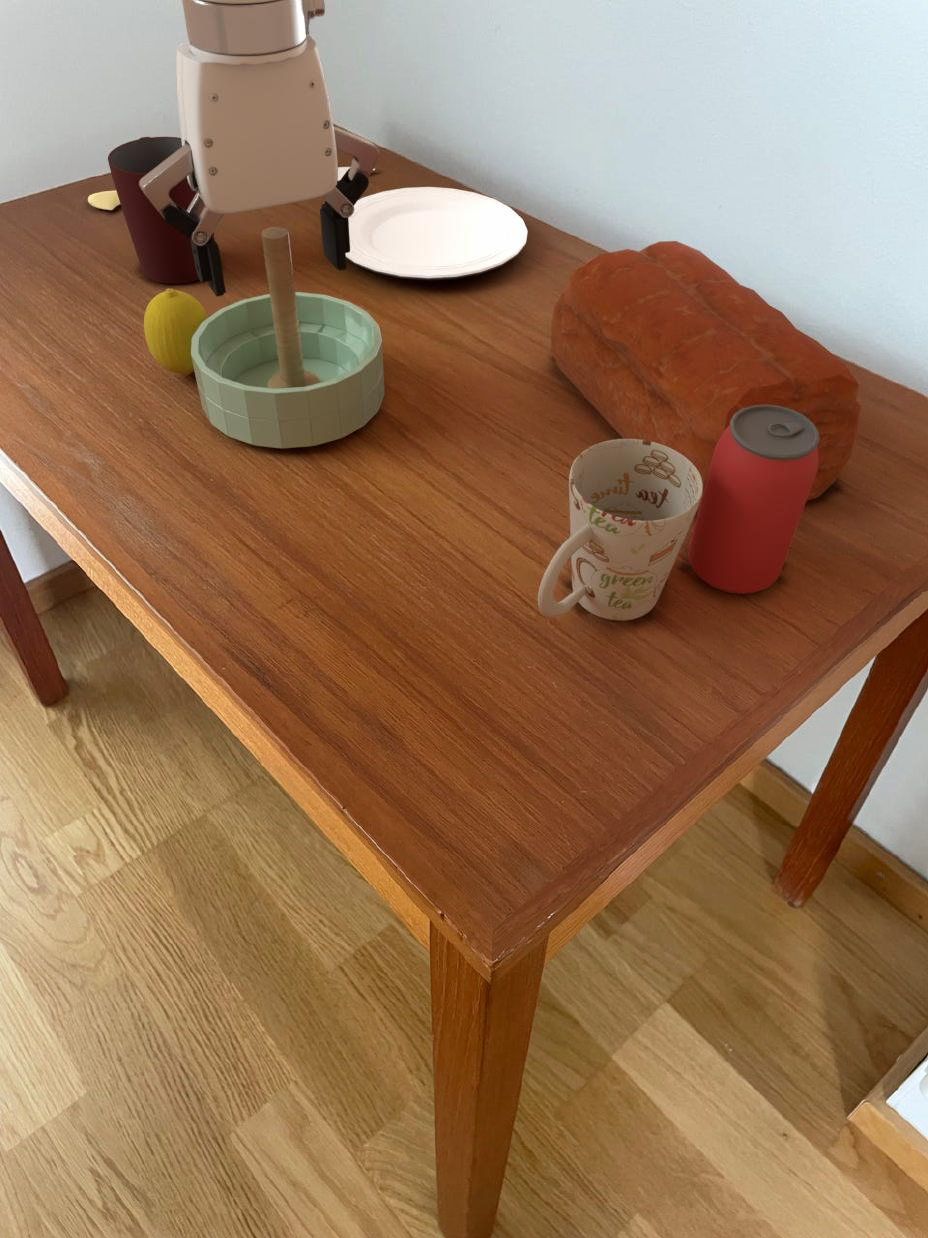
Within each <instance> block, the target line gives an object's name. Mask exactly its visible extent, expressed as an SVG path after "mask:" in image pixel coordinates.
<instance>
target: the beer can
mask: <svg viewBox="0 0 928 1238" xmlns="http://www.w3.org/2000/svg"><path fill="white" fill-rule="evenodd" d="M818 443H819V432H818V430H817V429H816V427H815V425H814V424H813V423H812V422H811V421H810V420H809V419H807V418H806V417H805V416H804V415H802V414H800V413H798V412H796V411H794V410H792V409H788V408H785V407H782V406H775V405H754V406H750V407H747V408H743V409H741V410H740V411H738V412H737V413H735V414H734V416H733V417H732V419H731V421H730V425H729V426H728V427H727V428H726V430H725V431H724V432H723V434H722V436H721V437H720V439H719V441H718V443H717V445H716V446H715V450H714V453H713V457H712V461H711V465H710V469H709V473H708V477H707V480H706V484H705V488H704V492H703V496H702V500H701V504H700V507H699V511H698V512H697V516H696V519H695V523H694V527H693V531H692V535H691V538H690V543H689V547H688V557H687V558H688V561H689V564H690V566H691V568H692V570H693V572H694V573H695V574H696V575H697V576H698V577H699V578H700V579H701V580H702V581H703V582H704V583H706V584H708V585H709V586H711V587H712V588H714V589H716V590H719V591H722V592H725V593H728V594H729V593H730V594H738V595H744V594H745V595H746V594H747V595H748V594H755V593H759V592H761V591H764V590H766V589H767V588H770V587H771V586H772V585H773V584H774V583H775V582H776V581H777V580H778V578H779V576H780V575H781V572H782V569H783V566H784V564H785V561H786V559H787V555H788V553H789V550H790V547H791V545H792V542H793V539H794V535H795V533H796V531H797V528H798V525H799V523H800V519H801V517H802V514H803V511H804V509H805V506H806V504H807V502H808V501H807V498H808V495H809V492H810V490H811V487H812V484H813V481H814V478H815V476H816V473H817V470H818V461H819V459H818V450H817V445H818Z"/></svg>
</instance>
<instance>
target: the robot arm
mask: <svg viewBox="0 0 928 1238" xmlns="http://www.w3.org/2000/svg"><path fill="white" fill-rule="evenodd" d="M181 3H182V8H183V14H184V15H183V16H184V21H185V27H186V28H185V29H186V33H187V39H188V41H185V42H181V43H180V44H178V45H177V47H176V56H175V57H176V61H175V62H176V64H175V67H176V68H175V70H176V71H175V72H176V94H177V95H176V96H177V97H176V98H177V110H178V120H179V121H178V122H179V131H180V138H181V140H182V147H181V148H180V149H178V150H177V151H176V152H175V153H173V154H172V155H171V156H170V157H168V158H167V159H166V160H164V161H163V162H162V163H161V164H159V165H158V166H157V167H155V168H154V169H153V170H152V171H150V172H149V173H148V174H146V175H145V176H144V177H143V178H141V180H140V182H139V186H140V188H141V190H142V191H143V193H144V194H145V196H146V197H147V198H148V199H149V201H150V202H151V203H152V204H153V206H154V207H155V208H156V209H157V211H158V212H159V213H160V214H161V216H162V217H163V218H164V219H165V221H166V222H167V223H168V224H169V225H170V226H172V227H173V228H175V229H176V230H178V231H179V232H181V233H182V234H184V235H185V236H187V237H188V238H190V240H191V245H192V251H193V256H194V262H195V267H196V272H197V275H198V278H199V280H198V281H200V283H202V284H203V283H206V284H207V285H208V287H209V288H210V290H211V291H212V293H213V294H214V295H215V296H216V297H223V296H224V295H225V294H226V283H225V278H224V274H223V273H224V271H223V266H222V260H221V255H220V248H219V245H218V243H217V241H216V239H215V238H214V239H215V240H214V239H213V238H212V234H213V232H214V233H215V230H216V229H217V227H218V226H219V224H220V222H221V221H222V219H223V217H224V216H225V215H233V214H239V213H240V214H241V213H245V212H250V211H251V212H252V211H257V210H263V209H268V208H274V207H279V206H284V205H290V204H295V203H300V202H306V201H310V200H315V199H319V198H322V199H323V200H324V203H322V204H321V205H320V206H321V208H319V217H320V228H321V230H320V231H321V241H322V242H321V243H322V252H323V256H324V257H325V258H326V259H327V260H328V262H329V263H330V264H331V265H332V266H333V267H334V269H336V270H338V271H339V272H340V271H344V270H347V267H348V266H347V259H346V253H349V252H350V237H349V221H348V217H350V216H351V215H352V214H353V212H354V205H355V204H356V202H357V201H358V200H360V199H361V198H362V196H363V194H364V193H365V191H366V190H367V189H368V187H369V184H370V180H369V178H370V176H372V174H373V172H374V170H373V169H375V165H376V163H377V161H378V157H379V155H380V149H379V148H378V147H377V145H375V144H374V143H373V142H372V141H370V140H369V139H366V138H364V137H362V136H359V135H357V134H354V133H352V132H349V131H347V130H344V129H342V128H340V127H337V126H336V125H334V121H333V113H332V109H331V103H330V98H329V97H330V96H329V93H328V87H327V83H326V78H325V74H324V68H323V64H322V61H321V57H320V53H319V50H318V47H317V43H316V41H315V40H314V39H313V38H312V36H311V35H310V27H309V26H310V22H311V21H312V20H314V19H315V18H321V17H324V16H325V12H326V6H325V5H326V4H325V0H181ZM338 151H339V152H341V153H344V154H346V155H349V156H351V157H352V159H351V165H350V167H351V168H349V169H348V170H347V172H346V173H345V174H344V176H343V177H342V178H341V180H339V181H337V180H338V167H339V165H338V164H339V161H338ZM186 177H187V179H188V182H189V185H190V187H191V189H192V190H193V191H196V192H197V193H196V195H195V197H194V199H193V200H192V202H191V204H190V206H189V207H188V209H187V211H186V210H184V209H183V208H181V207H180V206H179V205H177V204H176V203H174V202H173V201H172V200H171V198H170V197H169V192H170V190H171V189H172V188H173V187H174V186H175V185H177V184H178V183H179V182H181V181H182V180H183V179H184V178H186Z"/></svg>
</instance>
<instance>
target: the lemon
mask: <svg viewBox="0 0 928 1238" xmlns="http://www.w3.org/2000/svg"><path fill="white" fill-rule="evenodd" d="M143 317H144V318H143V331H144V337H145V343H146V345H147V348H148V350H149V352H150V354H151V356H152V357H153V358H154V360H155V361H156V362H157V363H158V364H159V365H160V366H161V367H162V368H164V369H166V370H167V371H169V372H172V373H176V374H181V375H184V376H186V377H187V376H191V374H193V372H194V373H195V371H194V366H193V361H192V357H191V342H192V337H193V335H194V334H195V332H196V331H197V329H198V328H199V326H200V325H201V323H202V322H203V321H205V320H206V319H207V318H209V316H208V315H207V312H206V311H205V309H204V307H203V304H201V302H200V301H199V300H197V298H195V297H194V296H193V295H191V294H189V293H187V292H184V291H183V290H182V291H181V290H176V289H173V288H166V289H165V290H164V291H162V292H160V293H158V294H157V295H155V296H154V297H152V299H151V300H150V302H148V304H147V307H146V308H145V311H144V316H143Z"/></svg>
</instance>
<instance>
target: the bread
mask: <svg viewBox="0 0 928 1238" xmlns="http://www.w3.org/2000/svg"><path fill="white" fill-rule="evenodd" d="M550 350H551V353H552V356H553V359H554V363H555V364H556V367H557V368H558V369H559V370H560V372H562V374H563V375H564V376H565V377H566V378H567V380H569V381H570V382H571V384H573V386H574V387H576V389H577V390H578V391H579V392H580V393H581V395H582V396H583V397H584V398H585V399H586V400H587V401H588V402H589V403H590V405H591V406H592V407H593V408H594V409H595V410H596V411H597V412H598V413H599V415H600V416H601V417H602V418H603V419H604V420H605V421H606V422H607V423H608V424H609V425H610V426H611V428H612V429H613V430H614V431H615V433H617V434H618V435H619V437H621V439H639V440H646V441H651V442H655V443H658V444H661V445H664V446H667V447H669V448H671V449H673V450H675V451H677V452H679V453H680V454H682V455H683V456H684V457H686V458H687V459H688V460H689V461H690V462H691V463H692V464H693V465H694V466H695V467H696V469H697V470H698V472H699V474H700V476H701V478H702V483H703V492H704V488H705V484H706V480H707V477H708V473H709V469H710V465H711V461H712V457H713V453H714V450H715V446H716V445H717V443H718V441H719V439H720V437H721V436H722V434H723V432H724V431H725V430H726V428H727V427H728V426H729V425H730V421H731V419H732V417H733V416H734V414H735V413H737V412H738V411H740V410H741V409H743V408H747V407H750V406H754V405H775V406H782V407H785V408H788V409H792V410H794V411H796V412H798V413H800V414H802V415H804V416H805V417H806V418H807V419H809V420H810V421H811V422H812V423H813V424H814V425H815V427H816V429H817V430H818V432H819V443H818V445H817V450H818V459H819V461H818V470H817V473H816V476H815V478H814V481H813V484H812V487H811V490H810V492H809V495H808V498H807V501H806V502H808V501H811V500H815V499H818V498H820V496H821V495H823V494H824V493H825V492H826V491H827V490H828V489H829V488H830V487H831V486H832V485H833V484H835V483H834V482H836V479H837V478H838V477H839V475H840V474H841V472H842V471H843V469H844V468H845V467H846V465H847V464H848V462H849V461H850V459H851V456H852V451H853V449H854V445H855V442H856V439H857V436H858V433H859V425H860V418H861V409H862V405H861V404H860V403H859V402H858V401H857V397H858V393H859V387H860V384H859V382H858V380H857V379H856V377H855V376H854V375H853V373H852V372H851V370H850V369H849V368H848V367H847V365H846V364H845V363H844V362H843V361H842V360H841V359H839V358H838V357H837V356H835V354H833V353H832V352H831V351H830V350H828V349H827V348H826V347H825V346H824V345H823V344H822V343H820V342H819V341H817V340H816V339H815V338H813V337H811V336H810V335H808V334H806V333H804V332H802V331H801V330H800V329H798V328H797V327H795V326H794V324H793V323H792V322H791V321H790V320H789V318H788V317H787V316H786V315H785V314H784V313H783V311H781V310H779V309H777V308H776V307H773V306H771V305H770V303H768V302H767V301H766V300H764V298H763V297H762V296H761V295H759V294H758V292H756V290H754V289H752V288H749V287H747V286H745V285H742V284H740V283H739V282H738V281H737V279H734V277H732V275H731V274H730V273H728V271H726V269H724V268H722V267H721V266H720V265H718V264H716V262H714V261H713V260H711V259H710V258H709V257H708V256H707V255H705V253H703V252H702V251H701V250H698V249H696V248H694V247H691V246H689V245H687V244H684V243H682V242H679V241H677V240H666V241H665V240H664V241H663V240H661V241H658V242H655V243H652V244H650V245H647V246H646V247H644V248H643V249H641V250H640V251H638V250H633V249H629V248H626V249H620V250H617V251H611V252H607V253H602V254H598V255H596V256H595V257H592V258H591V259H590V260H589V261H588V262H587V263H585V264H584V265H582V266H580V267H577V268H576V269H574V270H572V272H571V273H570V276H569V278H568V281H567V283H566V285H565V287H564V290H563V292H562V293H561V295H560V296H559V298H558V299H557V300H556V302H554V304H553V307H552V318H551V325H550ZM702 496H703V493H702ZM701 500H702V498H701ZM700 504H701V501H700ZM700 504H699V507H700ZM699 507H698V509H697V511H696V513H698V511H699Z"/></svg>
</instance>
